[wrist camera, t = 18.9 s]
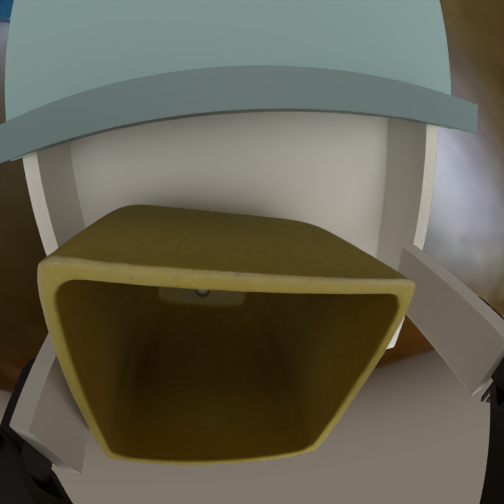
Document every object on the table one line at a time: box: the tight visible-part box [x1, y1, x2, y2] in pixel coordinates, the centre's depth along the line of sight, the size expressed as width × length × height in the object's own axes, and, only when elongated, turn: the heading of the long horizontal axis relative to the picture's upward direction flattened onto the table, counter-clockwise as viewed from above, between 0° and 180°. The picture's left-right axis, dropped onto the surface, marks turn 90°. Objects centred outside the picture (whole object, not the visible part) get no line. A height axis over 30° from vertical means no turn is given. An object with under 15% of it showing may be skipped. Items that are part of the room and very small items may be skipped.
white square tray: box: [23, 112, 438, 349], centre depth 13 cm, size 18×18×4 cm
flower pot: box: [37, 205, 415, 465], centre depth 11 cm, size 9×9×9 cm
